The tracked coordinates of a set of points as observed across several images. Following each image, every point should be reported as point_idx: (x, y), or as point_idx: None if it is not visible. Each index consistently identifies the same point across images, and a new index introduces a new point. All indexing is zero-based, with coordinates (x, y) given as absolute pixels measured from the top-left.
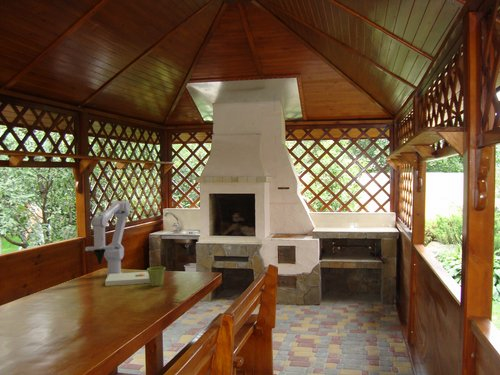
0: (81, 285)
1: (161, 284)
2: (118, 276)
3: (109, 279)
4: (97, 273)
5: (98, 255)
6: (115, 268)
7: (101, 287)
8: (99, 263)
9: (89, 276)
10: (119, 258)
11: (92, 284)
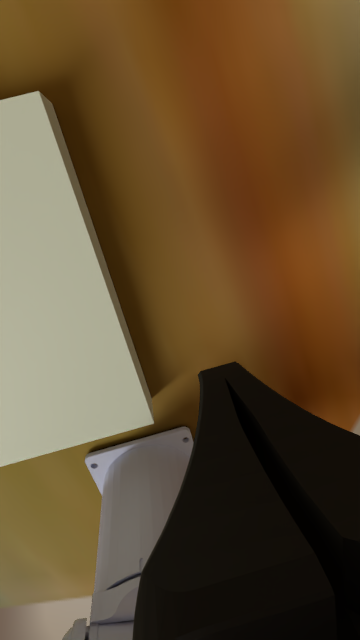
0: (309, 156)
1: None
2: (8, 336)
3: (33, 194)
4: None
5: (298, 453)
6: (124, 503)
7: (65, 33)
8: (225, 367)
9: None
10: (73, 627)
11: (218, 193)
